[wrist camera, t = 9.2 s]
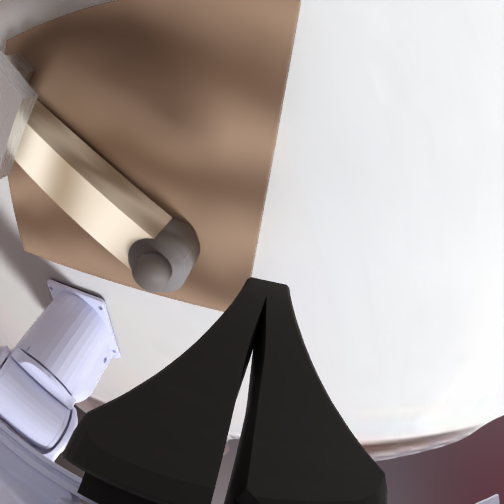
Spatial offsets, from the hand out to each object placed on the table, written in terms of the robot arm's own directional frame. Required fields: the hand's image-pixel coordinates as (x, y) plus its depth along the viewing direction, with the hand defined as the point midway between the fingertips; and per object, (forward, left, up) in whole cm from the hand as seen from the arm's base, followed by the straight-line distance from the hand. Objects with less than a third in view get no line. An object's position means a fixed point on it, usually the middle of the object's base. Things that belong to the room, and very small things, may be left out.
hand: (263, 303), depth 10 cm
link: (0, +11, -7) cm, 13 cm away
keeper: (+7, +18, -7) cm, 21 cm away
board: (+2, +12, -8) cm, 15 cm away
